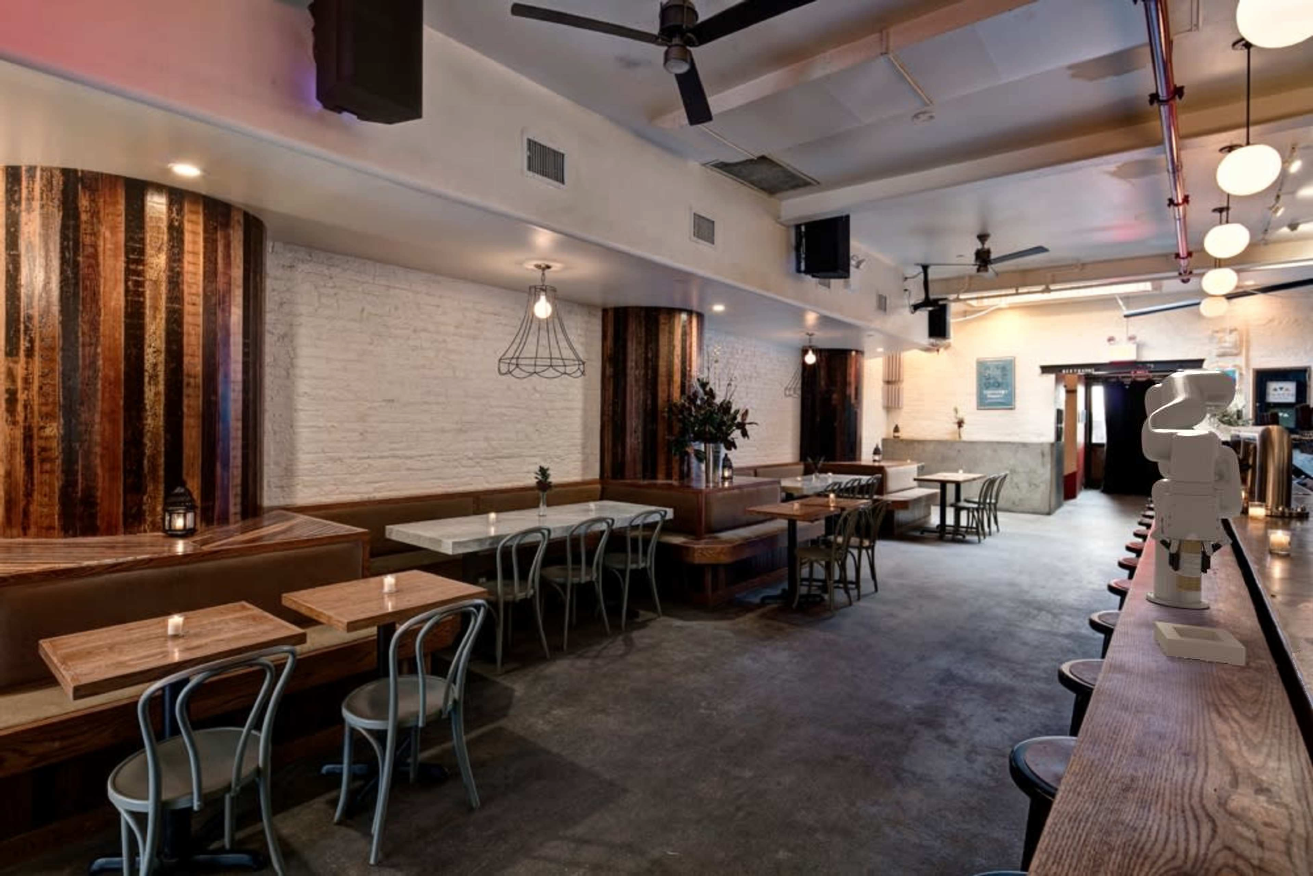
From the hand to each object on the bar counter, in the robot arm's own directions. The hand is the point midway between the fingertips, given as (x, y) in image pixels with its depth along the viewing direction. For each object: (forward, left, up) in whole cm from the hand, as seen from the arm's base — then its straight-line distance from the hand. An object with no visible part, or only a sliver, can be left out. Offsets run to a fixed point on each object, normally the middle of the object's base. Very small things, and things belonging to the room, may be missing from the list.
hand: (1188, 570), depth 147 cm
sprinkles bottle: (0, 0, -5) cm, 5 cm away
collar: (+16, -2, -13) cm, 21 cm away
